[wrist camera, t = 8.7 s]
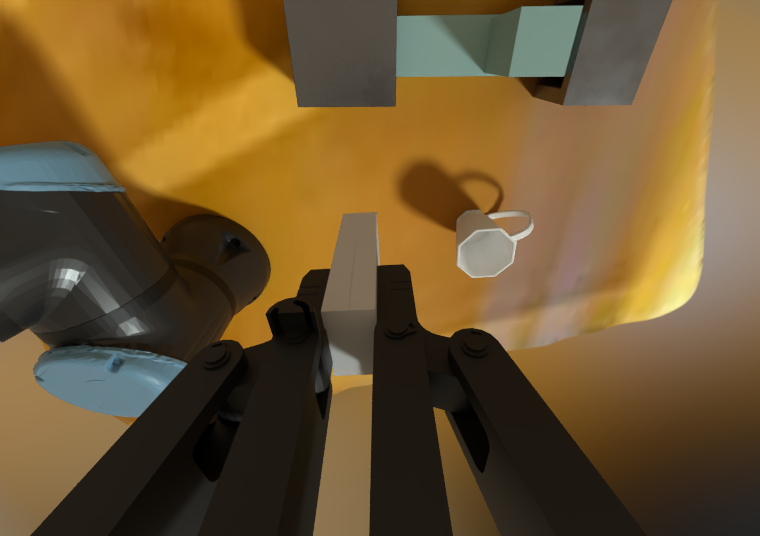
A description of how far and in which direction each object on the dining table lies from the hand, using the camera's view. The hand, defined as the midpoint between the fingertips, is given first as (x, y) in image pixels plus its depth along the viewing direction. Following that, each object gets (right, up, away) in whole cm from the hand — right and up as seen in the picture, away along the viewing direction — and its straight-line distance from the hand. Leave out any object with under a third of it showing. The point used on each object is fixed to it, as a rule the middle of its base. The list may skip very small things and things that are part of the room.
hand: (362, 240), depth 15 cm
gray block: (-2, +21, +18) cm, 28 cm away
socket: (+20, +21, +17) cm, 34 cm away
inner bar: (+9, +21, +17) cm, 29 cm away
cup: (+15, +5, +28) cm, 32 cm away
